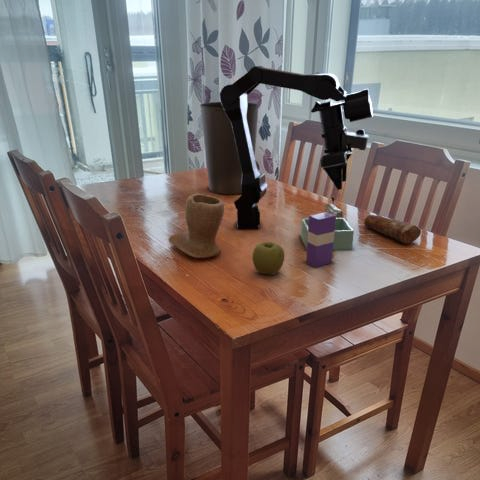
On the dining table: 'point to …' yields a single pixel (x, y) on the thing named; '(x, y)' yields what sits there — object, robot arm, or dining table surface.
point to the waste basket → (224, 147)
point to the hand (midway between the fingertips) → (342, 185)
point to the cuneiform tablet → (333, 209)
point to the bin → (341, 235)
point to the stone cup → (200, 227)
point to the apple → (268, 257)
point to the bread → (393, 228)
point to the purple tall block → (320, 239)
